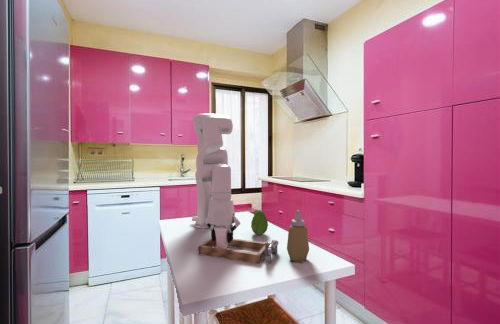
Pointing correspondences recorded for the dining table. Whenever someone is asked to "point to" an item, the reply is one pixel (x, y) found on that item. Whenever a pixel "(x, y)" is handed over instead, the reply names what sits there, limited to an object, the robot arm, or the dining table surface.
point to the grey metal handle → (270, 250)
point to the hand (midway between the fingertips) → (222, 240)
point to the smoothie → (221, 236)
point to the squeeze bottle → (298, 239)
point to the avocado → (259, 223)
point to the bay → (248, 253)
